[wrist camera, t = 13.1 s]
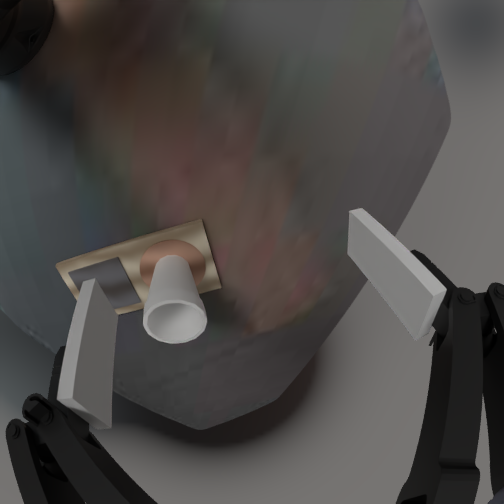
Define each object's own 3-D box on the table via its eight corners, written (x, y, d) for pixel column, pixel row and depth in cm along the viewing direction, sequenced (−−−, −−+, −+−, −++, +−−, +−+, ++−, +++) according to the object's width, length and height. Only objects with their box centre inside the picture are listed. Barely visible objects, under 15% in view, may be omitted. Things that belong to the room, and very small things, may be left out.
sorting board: (57, 263, 45) (55, 267, 44) (201, 218, 48) (202, 222, 47) (92, 317, 54) (91, 322, 53) (220, 284, 57) (221, 289, 56)
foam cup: (162, 296, 54) (164, 350, 43) (136, 261, 48) (130, 315, 38) (206, 276, 54) (217, 329, 43) (183, 238, 48) (188, 290, 38)
